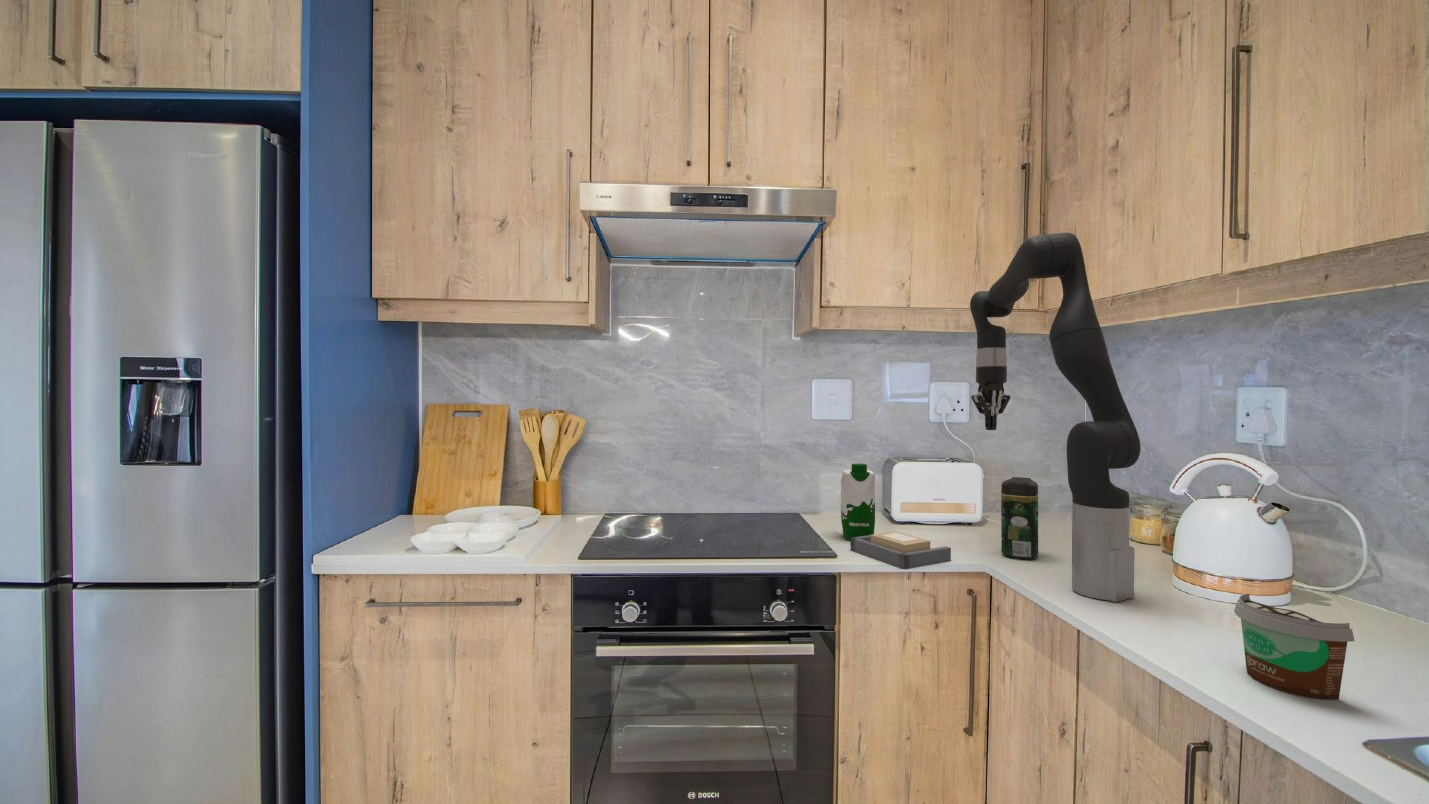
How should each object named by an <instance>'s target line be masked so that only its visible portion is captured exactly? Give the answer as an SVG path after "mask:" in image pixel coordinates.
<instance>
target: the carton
mask: <svg viewBox="0 0 1429 804" xmlns="http://www.w3.org/2000/svg"><path fill="white" fill-rule="evenodd" d="M871 542H872V543H875V544H878V545H881V546H884V547H887V548H890V549H893V550H896V551H900V552H903V553H907V552H913V551H920V550H926V549H931V540H928V539H926V538H921V537H918V536H914V535H912V534H911V535H909V534H908V533H907V534H906V533H903V532H900V531H896V530H894V531H886V532H880V533H874V534H872V535H871Z"/></svg>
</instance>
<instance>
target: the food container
mask: <svg viewBox="0 0 1429 804" xmlns="http://www.w3.org/2000/svg"><path fill="white" fill-rule="evenodd" d="M1233 612H1234V614H1235V615H1236V616H1237V617H1238V618H1240V624H1241V631H1242V632H1241V633H1242V641H1243V650H1244V658H1245V667H1246V669H1245V670H1246V673H1247V675H1248V676H1249V677H1250V678H1251V679H1253V680H1254V681H1256V682H1257V683H1260V684H1262V685H1264V686H1266V687H1269V688H1271V689H1274V690H1277V691H1280V692H1282V693H1283V692H1284V693H1286V694H1290V695H1294V696H1299V697H1301V698H1308V699H1314V700H1315V699H1316V700H1323V701H1324V700H1325V701H1329V700H1330V701H1335V700H1340V694H1341V687H1342V680H1343V673H1344V667H1345V661H1346V653H1347V648H1348V643H1349V642H1355V637H1354V632H1353V628H1350V627H1351V626H1350V625H1351V624H1350V622H1343V623H1340V622H1324V621H1320V620H1317V619H1315V618H1313V617H1310V616H1307V615H1305V614H1304V613H1301V612H1299V611H1295V610H1291V609H1288V608H1281V607H1275V606H1270V605H1266V604H1263V603H1260V602H1257V601H1254V600H1251V597H1250V593H1243V594H1241V595H1240V596H1239V599H1237V601H1236V603H1235V608H1234V610H1233Z"/></svg>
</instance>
